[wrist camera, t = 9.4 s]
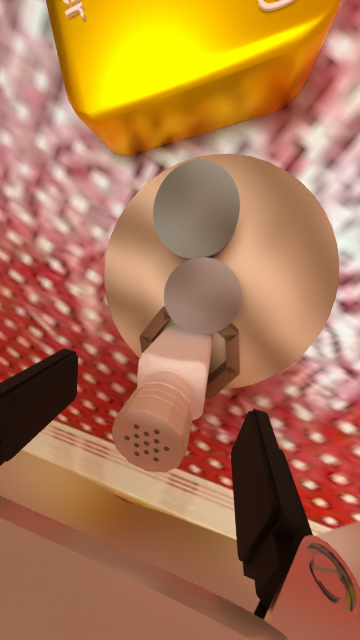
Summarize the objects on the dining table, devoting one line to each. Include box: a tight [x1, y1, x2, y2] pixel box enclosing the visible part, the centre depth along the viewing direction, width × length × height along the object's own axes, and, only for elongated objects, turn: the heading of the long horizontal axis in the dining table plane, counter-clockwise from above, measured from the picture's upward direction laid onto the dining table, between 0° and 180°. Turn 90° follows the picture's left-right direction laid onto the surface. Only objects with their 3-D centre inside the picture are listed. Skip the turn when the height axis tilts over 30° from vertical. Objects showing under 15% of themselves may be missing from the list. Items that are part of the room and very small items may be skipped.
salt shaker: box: [111, 325, 213, 472], centre depth 12 cm, size 4×4×10 cm
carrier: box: [104, 154, 339, 398], centre depth 14 cm, size 18×18×5 cm
